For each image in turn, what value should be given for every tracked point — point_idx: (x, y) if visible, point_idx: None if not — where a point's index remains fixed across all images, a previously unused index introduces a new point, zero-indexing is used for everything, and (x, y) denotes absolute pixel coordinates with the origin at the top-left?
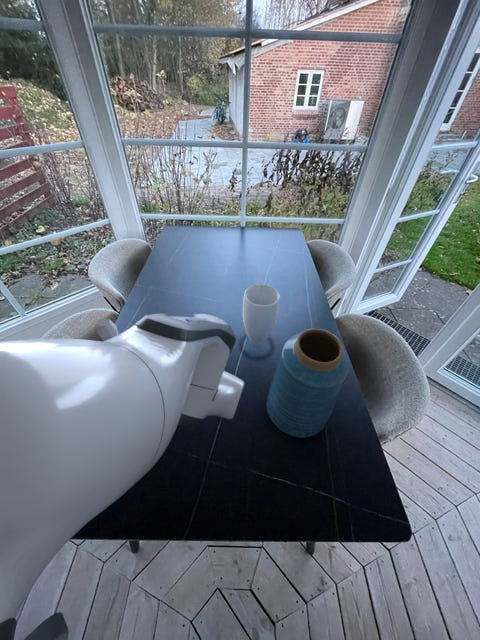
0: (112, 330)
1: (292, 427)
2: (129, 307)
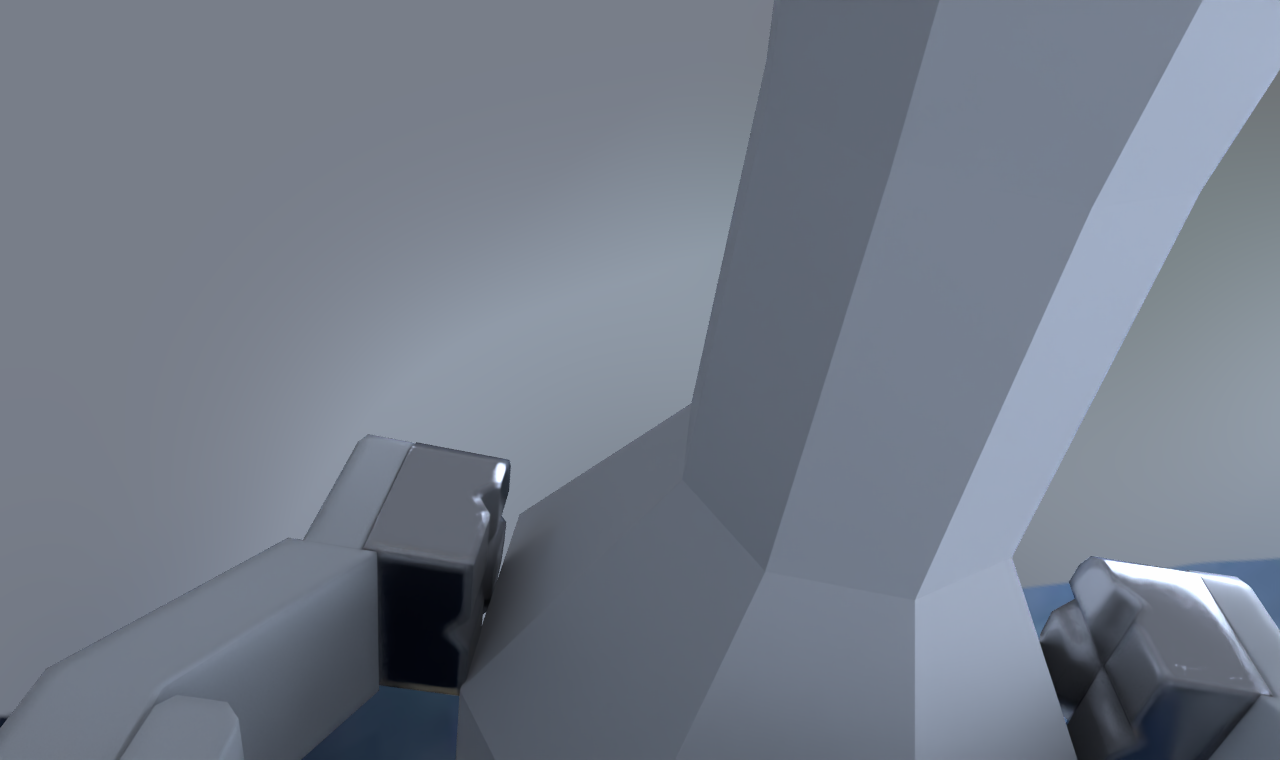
0: None
1: None
2: (1247, 568)
